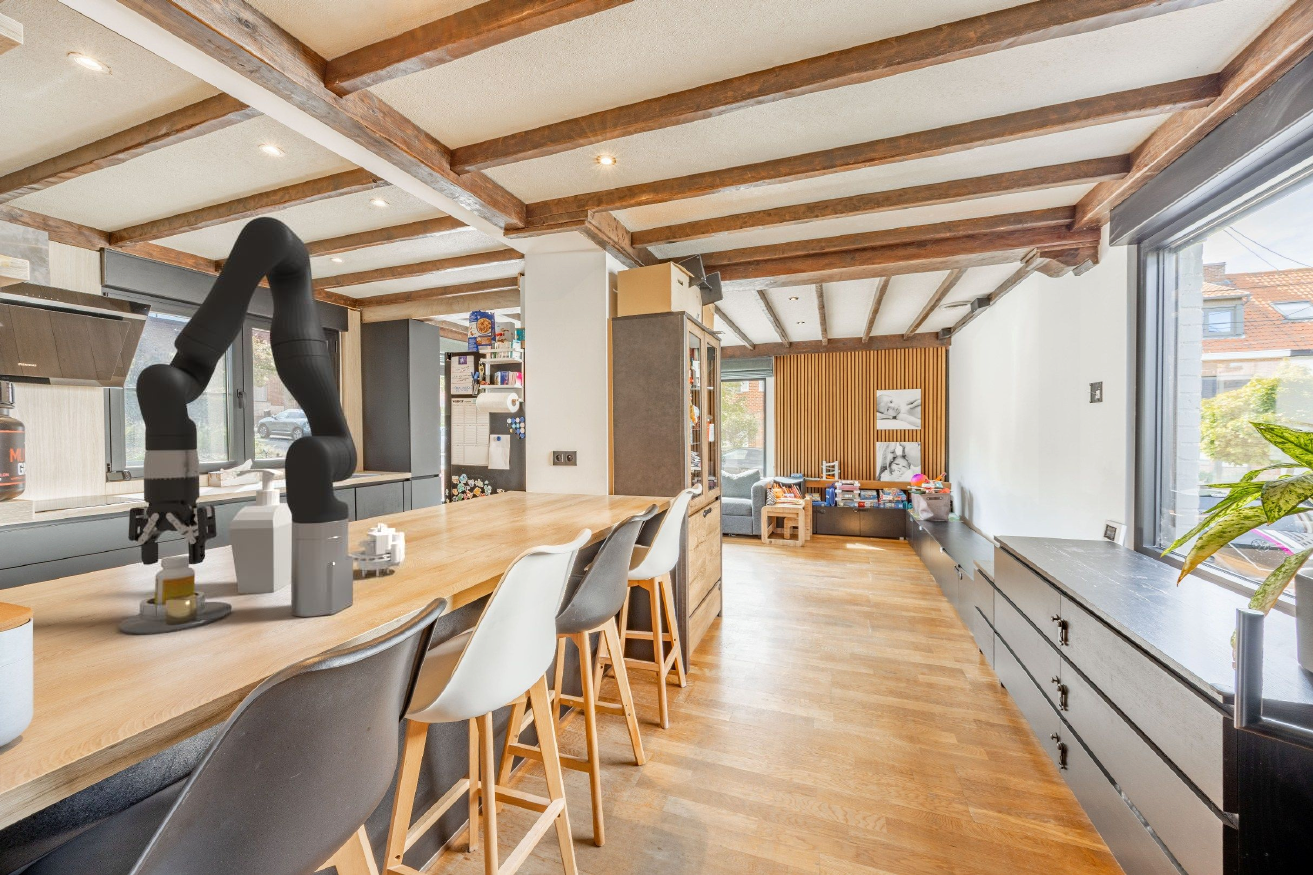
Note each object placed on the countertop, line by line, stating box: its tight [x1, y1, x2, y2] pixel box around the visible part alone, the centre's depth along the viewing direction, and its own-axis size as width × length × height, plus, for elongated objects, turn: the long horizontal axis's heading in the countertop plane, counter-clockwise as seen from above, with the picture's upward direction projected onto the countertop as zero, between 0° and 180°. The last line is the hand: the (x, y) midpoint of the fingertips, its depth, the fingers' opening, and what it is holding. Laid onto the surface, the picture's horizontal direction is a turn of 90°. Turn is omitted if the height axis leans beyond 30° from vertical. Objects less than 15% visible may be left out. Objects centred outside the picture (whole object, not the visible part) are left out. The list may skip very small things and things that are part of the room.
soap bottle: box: [228, 468, 292, 594], centre depth 116 cm, size 12×10×26 cm
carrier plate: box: [119, 590, 233, 636], centre depth 96 cm, size 15×15×5 cm
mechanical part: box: [348, 522, 406, 578], centre depth 128 cm, size 11×12×12 cm
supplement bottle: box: [154, 555, 196, 604], centre depth 98 cm, size 5×5×10 cm
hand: (173, 563), depth 97 cm, fingers open, 8 cm apart
